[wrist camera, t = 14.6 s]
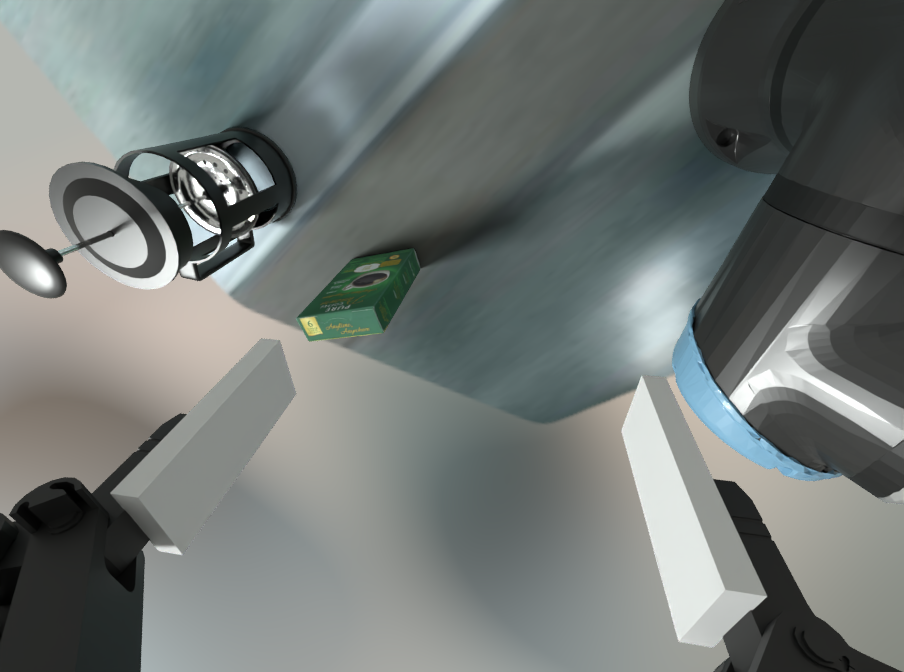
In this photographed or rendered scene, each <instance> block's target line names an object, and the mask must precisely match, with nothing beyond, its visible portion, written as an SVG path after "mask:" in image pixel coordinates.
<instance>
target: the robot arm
mask: <svg viewBox="0 0 904 672" xmlns="http://www.w3.org/2000/svg"><path fill="white" fill-rule="evenodd" d="M689 104H690V112H691V117H692V122H693V125H694V127H695V130H696V132H697V134H698V136H699V138H700V140H701V141H702V142H703V144H704V145H705V146H706V147H707V149H708V150H709V151H710V152H712V153H713V154H714V155H715V156H717V157H718V158H720V159H721V160H723V161H725V162H727V163H729V164H731V165H733V166H736V167H738V168H741V169H743V170H746V171H750V172H755V173H763V174H777V175H776V177H775V178H774V180H773V182H772V183H771V185H770V187H769V188H768V190H767V192H766V193H765V195H764V196H763V197H762V198H761V200H760V202H759V203H758V205H757V207H756V208H755V210H754V212H753V213H752V215H751V217H750V218H749V220H748V222H747V223H746V225H745V227H744V228H743V230H742V232H741V233H740V235H739V237H738V238H737V240H736V242H735V243H734V245H733V247H732V248H731V250H730V252H729V253H728V255H727V257H726V258H725V260H724V262H723V263H722V265H721V267H720V268H719V270H718V272H717V273H716V275H715V277H714V278H713V280H712V282H711V283H710V285H709V286H708V288H707V290H706V291H705V293H704V294H703V296H702V297H701V298H699V299H698V300H697V302H696V303H695V304H694V306H693V307H692V309H691V310H690V313H689V316H688V322H687V324H686V326H685V328H684V330H683V332H682V334H681V336H680V338H679V340H678V341H677V343H676V346H675V348H674V352H673V357H672V366H673V369H674V372H675V374H676V383H677V385H678V388H679V389H680V392H681V393H682V395H683V397H684V398H685V400H686V402H687V403H688V405H689V406H690V408H691V409H692V410H693V411H694V413H695V414H696V415H697V416H698V418H699V419H700V420H701V421H702V422H703V423H704V424H705V425H706V426H707V427H708V428H709V429H710V430H711V431H712V432H713V433H714V434H716V435H717V436H718V437H719V438H720V439H721V440H722V441H723V442H725V443H726V444H727V445H729V446H730V447H731V448H733V449H734V450H735V451H737V452H738V453H740V454H741V455H743V456H745V457H746V458H748V459H749V460H751V461H753V462H755V463H757V464H758V465H760V466H762V467H764V468H767V469H772V468H775V467H777V468H778V470H779V471H780V472H781V473H782V474H783V475H785V476H788V477H791V478H794V479H798V480H805V481H817V480H822V479H830V478H835V477H839V476H841V475H844V476H845V477H847V478H849V479H850V480H852V481H853V482H855V483H856V484H858V485H859V486H861V487H862V488H864V489H865V490H867V491H868V492H870V493H871V494H872V495H874V496H875V497H877V498H878V499H880V500H882V501H883V502H885V503H896V504H904V0H725V1H724V3H723V4H722V6H721V7H720V9H719V10H718V12H717V13H716V15H715V17H714V18H713V20H712V22H711V24H710V25H709V27H708V29H707V31H706V33H705V35H704V37H703V40H702V42H701V44H700V47H699V49H698V52H697V55H696V58H695V62H694V65H693V70H692V74H691V80H690V90H689ZM295 395H296V391H295V388H294V385H293V382H292V378H291V375H290V372H289V368H288V365H287V362H286V359H285V355H284V352H283V349H282V345H281V343H280V340H271V339H260V340H259V341H258V342H257V343H256V344H255V345H254V347H252V348H251V349H250V351H249V352H248V353H247V354H246V355H245V356H244V357H243V358H242V359H241V360H240V361H239V362H238V363H237V364H236V365H235V366H234V367H233V368H232V369H231V370H230V371H229V372H228V373H227V374H226V375H225V376H224V377H223V378H222V379H221V380H220V381H219V382H218V383H217V384H216V385H215V386H214V387H213V388H212V389H211V390H210V391H209V393H207V395H206V396H205V397H204V398H203V399H202V400H201V401H200V402H199V403H198V404H197V405H196V406H195V407H194V408H193V409H192V410H191V411H190V412H189V413H188V414H179V415H177V416H175V417H174V418H172V419H170V420H169V421H167V422H166V423H164V424H162V425H161V426H160V427H159V428H158V429H157V430H156V431H155V432H154V433H153V434H152V435H151V436H150V437H149V440H148V441H145V442H144V443H143V444H142V445H141V446H140V447H139V448H138V451H137V452H134V453H133V454H132V455H131V456H130V457H129V458H128V459H127V460H126V461H125V462H124V463H123V464H122V465H121V466H120V467H119V468H118V469H117V470H116V471H115V472H114V473H113V474H111V475H110V476H109V477H108V478H107V479H106V480H105V482H103V483H102V484H101V485H100V486H99V487H98V488H97V489H96V490H95V491H94V492H93V493H92V494H91V493H90V492H89V491H88V489H86V487H85V486H84V485H83V484H82V483H81V482H80V481H79V480H77V479H76V478H66V477H65V478H60V479H56V480H52V481H50V482H48V483H45V484H43V485H41V486H39V487H37V488H36V489H34V490H33V491H31V492H30V493H28V494H26V495H25V496H24V497H23V498H22V499H21V500H20V501H19V502H18V503H17V504H16V505H15V506H14V507H13V509H12V511H11V512H10V514H9V515H10V516H11V517H12V518H13V519H14V520H15V522H12V521H10V520H9V519H8V518H7V517H6V516H4V515H3V514H1V513H0V672H140V671H141V645H142V619H143V618H142V617H143V592H144V590H143V589H144V564H145V557H144V554H143V551H142V549H143V547H144V546H145V545H146V544H147V542H148V541H149V540H150V541H151V543H152V544H153V545H154V546H155V547H156V548H157V550H158V551H162V552H168V553H174V554H180V555H183V554H184V553H185V552H186V550H187V549H188V547H189V546H190V544H191V543H192V542H193V540H194V539H195V537H196V536H197V535H198V533H199V532H200V530H201V528H202V527H203V526H204V524H205V523H206V522H207V520H208V519H209V517H210V516H211V514H212V513H213V512H214V510H215V509H216V507H217V506H218V505H219V503H220V502H221V500H222V499H223V497H224V496H225V495H226V493H227V492H228V490H229V489H230V488H231V486H232V485H233V483H234V482H235V480H236V479H237V477H238V476H239V475H240V473H241V472H242V470H243V469H244V467H245V466H246V465H247V463H248V462H249V460H250V459H251V458H252V456H253V455H254V453H255V452H256V450H257V449H258V448H259V446H260V445H261V443H262V442H263V441H264V439H265V438H266V436H267V435H268V433H269V432H270V430H271V429H272V428H273V426H274V425H275V423H276V422H277V421H278V419H279V417H280V416H281V415H282V413H283V412H284V411H285V409H286V408H287V406H288V405H289V403H290V402H291V400H292V399H293V398H294V396H295ZM622 435H623V438H624V442H625V446H626V450H627V453H628V457H629V460H630V464H631V468H632V472H633V476H634V479H635V483H636V487H637V490H638V494H639V498H640V501H641V505H642V509H643V512H644V516H645V520H646V523H647V527H648V530H649V534H650V538H651V542H652V545H653V549H654V553H655V557H656V560H657V564H658V567H659V571H660V575H661V579H662V582H663V586H664V589H665V593H666V597H667V601H668V604H669V608H670V612H671V615H672V619H673V623H674V627H675V630H676V634H677V638H678V641H679V642H683V643H689V644H694V645H700V646H706V647H712V648H713V647H714V646H715V645H716V644H717V643H718V642H720V641H721V640H722V639H724V642H725V645H726V648H727V650H728V653H729V656H730V657H729V658H728V659H726V661H724V662H723V663H722V664H721V665H720V666H718V667H717V668H716V669H715V671H714V672H902V671H899V670H897V669H895V668H893V667H891V666H888V665H886V664H884V663H882V662H880V661H878V660H875V659H873V658H871V657H869V656H867V655H865V654H863V653H861V652H859V651H857V650H855V649H853V648H851V647H850V646H849V645H848V644H847V643H846V642H845V641H844V639H843V638H842V637H841V635H840V634H839V633H837V632H836V631H835V630H834V629H833V628H832V627H831V626H829V625H828V624H827V623H826V622H825V621H823V620H821V619H820V618H818V617H816V616H815V615H814V613H813V612H812V611H811V609H810V607H809V606H808V604H807V603H806V601H805V599H804V597H803V595H802V593H801V591H800V589H799V588H798V586H797V584H796V582H795V580H794V578H793V576H792V575H791V572H790V570H789V569H788V567H787V565H786V563H785V561H784V559H783V557H782V555H781V554H780V552H779V550H778V548H777V546H776V544H775V542H774V541H772V540H771V535H770V533H769V531H768V529H767V527H766V525H765V524H763V523H762V518H761V516H760V514H759V512H758V510H757V509H756V507H755V505H754V503H753V501H752V500H751V499H750V497H749V496H748V495H747V494H746V493H745V492H744V491H743V490H742V489H741V488H740V487H739V486H738V485H737V484H736V483H735V482H732V481H723V480H716V479H713V478H712V476H711V474H710V472H709V470H708V467H707V465H706V463H705V461H704V459H703V457H702V454H701V452H700V450H699V448H698V446H697V444H696V442H695V440H694V437H693V435H692V433H691V431H690V429H689V426H688V424H687V422H686V420H685V418H684V416H683V413H682V411H681V409H680V407H679V405H678V403H677V401H676V398H675V396H674V394H673V392H672V390H671V388H670V385H669V383H668V381H667V379H666V377H657V376H646V375H642V376H641V379H640V382H639V384H638V387H637V390H636V392H635V395H634V398H633V401H632V403H631V406H630V409H629V411H628V414H627V417H626V419H625V422H624V425H623V428H622Z"/></svg>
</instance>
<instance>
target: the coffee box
mask: <svg viewBox="0 0 904 672" xmlns="http://www.w3.org/2000/svg"><path fill="white" fill-rule="evenodd" d="M419 271H420V264H419V261H418V258H417V254H416V251H415V250H414V248H412V249H407V250H399V251H395V252H391V253H385V254H379V255H373V256H367V257H362V258H356V259H352V260H351V261H350V262H349V263H348V264H347V265H346V266H345V267H344V268H343V269H342V270H341V271H340V272H339V273H338V274H337V275H336V276H335V277H334V279H333V280H332V281H331V282H330V283H329V284H328V285H327V286H326V287H325V288H324V289H323V290H322V291H321V293H320V294H319V295H318V296H317V297H316V298H315V299H314V300H313V301H312V302H311V303H310V304H309V305H308V306H307V307H306V308H305V309H304V311H303V312H302V313H301V314H300V315H299V316H298V317H297V318H296V320H297V322H298V323H299V325H300V327H301V328H302V330H303V332H304V334H305V335H306V337H307V339H308V341H319V340H327V339H336V338H345V337H354V336H363V335H371V334H380V333H384V332H385V330H386V328H387V327H388V325H389V323H390V321H391V319H392V318H393V316H394V314H395V313H396V311H397V309H398V307H399V306H400V304H401V302H402V300H403V299H404V297H405V295H406V293H407V292H408V290H409V288H410V287H411V285H412V283H413V281H414V280H415V278H416V276H417V274H418V273H419Z"/></svg>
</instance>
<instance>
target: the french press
mask: <svg viewBox="0 0 904 672" xmlns="http://www.w3.org/2000/svg"><path fill="white" fill-rule="evenodd" d="M237 142H241V143H243V144H245V145H246V146H247V147H249V148H250V149H251V150H253V151H254V152H255V153H256V154H257V155H258V156H259V157H260V158H261V160H262V161H263V162H264V164H265V165H266V166H267V168H268V170H269V172H270V174H271V175H272V178H273V181H274V183H275V185H273V186H271V187H269V188H266V189H264V190H262V191H260V192H258V190H257V188H256V185H255V183H254V181H253V180H252V178H251V176H250V175H249V173H248V172H247V171H246V169H245V168H244V167H243V165H242V164H241V163H240V162H238V161H237V160H236V159H235V158H234V157H233V156H232V155H230V154H229V153H228V152H226V151H225V150H226V148H227V147H229V146H230V145H231V144H233V143H237ZM141 153H152V154H155V155H159V156H162V157H164V158H166V159H168V160H170V161H171V162H170V166H169V173H168V174H165V175H161V176H158V177H154V178H151V179H147V180H144V181H137V180H134V179H131V178H128V176H129V170H130V167H131V164H132V162H133V160H134V159H135V158H136V157H137V156H138V155H139V154H141ZM171 194H175V196H176V198H177V200H178V202H179V203H180V204H179V205H177V203H176V202H175V201H174V200H173V199H172V198H171V197H170V196H169V195H171ZM296 196H297V184H296V179H295V175H294V172H293V169H292V167H291V165H290V163H289V161H288V159H287V157H286V156H285V155H284V153H283V152H282V150H281V149H280V148H279V147H278V146H277V145H276V144H275V143H274V142H273V141H272V140H270V139H269V138H268V137H266V136H265V135H263V134H261V133H259V132H257V131H255V130H252V129H249V128H242V127H235V128H229V129H226V130H224V131H222V132H220V133H218V134H213V135H209V136H205V137H200V138H195V139H190V140H186V141H181V142H176V143H171V144H166V145H161V146H156V147H151V148H145V149H140V150H135V151H130V152H128V153H127V154H125V155H123V156H122V157H121V158H120V159H119V160H118V161H117V163H116V165H115V168H114V169H110V168H108V167H106V166H102V165H99V164H95V163H90V162H78V163H71V164H67V165H65V166H63V167H61V168H59V169H58V170H57V171H56V173H55V174H54V175H53V176H52V179H51V182H50V188H49V197H50V203H51V208H52V210H53V213H54V216H55V219H56V221H57V222H58V224H59V226H60V228H61V229H62V232H63V233H64V234H65V235H66V237H67V238H68V240H69V241H70V243H71V244H72V246H70V247H67V248H64V249H62V250H59V251H57V250H55V249H47V250H44V249H43V248H42V247H41V246H40V245H38V244H37V243H36V242H34V241H33V240H31V239H29V238H27V237H26V236H23V235H21V234H19V233H16V232H13V231H7V230H0V268H1V270H2V271H3V272H4V273H5V274H6V275H7V276H8V277H9V278H10V279H11V280H13V281H14V282H15V283H16V284H18V285H19V286H21V287H22V288H24V289H25V290H27V291H29V292H31V293H33V294H35V295H38V296H41V297H44V298H57V297H60V296H62V295H63V294H64V293H65V291H66V287H67V283H66V278H65V276H64V274H63V271H62V270H61V268H60V266H59V265H58V263H61V262H62V261H63V257H62V256H64V255H67V254H69V253H72V252H74V251H78V252H79V253H80V254H81V255H82V256H83V257H84V258H85V259H86V260H87V261H88V262H89V263H90V264H92V265H93V266H94V267H96V268H97V269H98V270H100V271H101V272H102V273H104V274H106V275H107V276H109V277H111V278H112V279H114V280H116V281H118V282H121V283H123V284H125V285H128V286H131V287H135V288H140V289H157V288H160V287H163V286H165V285H167V284H169V283H170V282H171V281H173V280H174V279H175V277H176V276H177V274H178V273H180V275H181V277H183V278H187V279H192V280H197V281H201V280H203V279H205V278H206V277H208V276H209V275H211V274H212V273H214V272H216V271H217V270H219V269H220V268H222V267H223V266H225V265H226V264H228V263H230V262H231V261H233V260H234V259H236V258H237V257H239V256H240V255H242V254H243V253H245V252H247V251H248V250H250V249H251V248H253V247H254V245H255V243H254V237H253V230H254V229H259V228H262V227H265V226H266V225H268V224H270V223H272V222H276V221H279V220H281V219H282V218H284V217H285V216H287V215H288V214H289V212H290V211H291V210H292V208H293V206H294V204H295V201H296ZM275 204H277V205H276V207H275V208H274V209H272V210H269V211H264V210H266V209H268V208H270V207H272V206H274V205H275ZM182 208H183V209H184V211H185V212H186V213H187V214H188V215H189V216H190V217H191V218H192V219H193V220H194V221H195V222H196V223H197V224H198V225H200V226H201V227H203V228H204V229H206V230H207V231H209V232H211V233H213V234H216V235H215V236H213V237H211V238H209V239H207V240H205V241H203V242H201V243H199V244H198V245H196V246H194V247H193V239H192V233H191V230H190V227H189V224H188V222H187V220H186V218H185V216H184V214H183V212H182V211H181V209H182ZM235 238H237V239H238V240H237V242H236V243H235V244H233V245H231V246H229V247H228V248H226V247H227V245H228V244H229V242H230V241H232V240H234V239H235ZM225 248H226V249H225ZM213 251H214V253H213V254H211V255H208V254H209V253H211V252H213ZM201 262H202V263H201ZM197 263H201V264H199V265H197Z"/></svg>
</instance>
